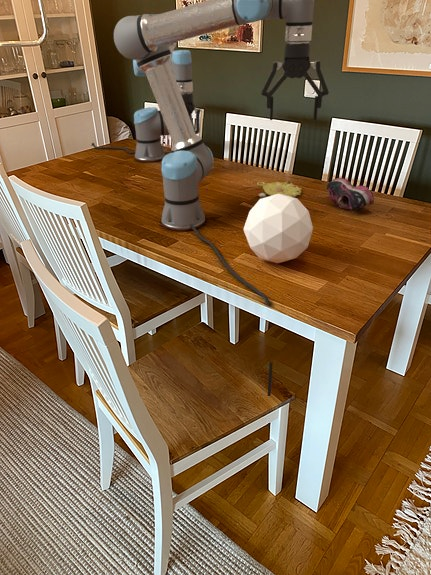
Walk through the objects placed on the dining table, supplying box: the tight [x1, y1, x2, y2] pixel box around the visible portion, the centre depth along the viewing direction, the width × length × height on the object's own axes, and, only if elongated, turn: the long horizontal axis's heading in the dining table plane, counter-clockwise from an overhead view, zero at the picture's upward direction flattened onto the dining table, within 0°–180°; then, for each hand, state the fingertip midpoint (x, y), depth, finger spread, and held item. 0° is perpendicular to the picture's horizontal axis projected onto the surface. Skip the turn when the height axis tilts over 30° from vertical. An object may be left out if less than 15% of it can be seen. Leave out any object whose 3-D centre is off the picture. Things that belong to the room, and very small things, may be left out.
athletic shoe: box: [325, 177, 375, 211], centre depth 162 cm, size 11×22×12 cm
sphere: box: [242, 194, 314, 264], centre depth 127 cm, size 19×20×20 cm
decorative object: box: [256, 180, 302, 198], centre depth 178 cm, size 21×2×20 cm
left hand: (187, 150), depth 195 cm, fingers closed on label tape box, 4 cm apart
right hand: (292, 119), depth 140 cm, fingers open, 13 cm apart
